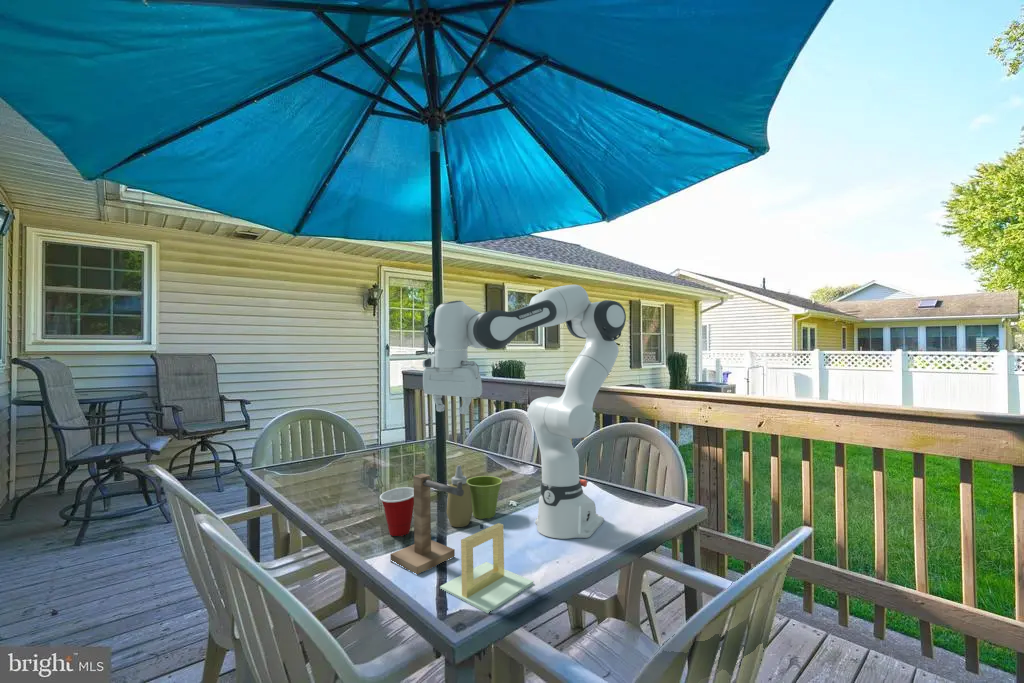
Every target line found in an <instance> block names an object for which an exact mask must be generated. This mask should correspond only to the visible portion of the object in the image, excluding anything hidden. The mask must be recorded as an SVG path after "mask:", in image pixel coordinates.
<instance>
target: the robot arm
mask: <svg viewBox="0 0 1024 683" xmlns="http://www.w3.org/2000/svg"><path fill="white" fill-rule="evenodd" d="M626 315H627V313H626V310H625V308H624V306H623V305H622V304H621V303H620V302H618V301H616V300H607V299H605V300H602V301H596V302H594V301H593V302H592V301H590V299H589V294H588V292H587V291H586V289H585V288H583V287H582V286H581V285H579V284H566V285H560V286H555V287H552V288H548V289H546V290H543V291H541V292H538V293H537V294H535V295H534V296H532V297H531V298H530V301H529V304H528V305H527V306H523V307H521V308H517V309H515V310H511V311H505V310H501V309H492V310H489V311H486V312H480V311H478V310H476V309H473V308H472V307H470V306H469V305H467V303H465V302H464V301H462V300H453V301H448V302H442V303H440V304H439V305H438V306H437V307H436V309H435V313H434V321H433V322H434V325H433V327H434V328H433V331H434V332H433V335H434V338H435V346H434V354H432V355H431V356H429V357H427V358H425V359H423V360H422V368H424V369H423V372H422V389H423V392H424V393H425V395H432V398H433V399H432V400H433V401H434V404H435V405H436V406H435V409H436V410H435V411H437V412H439V413H441V412H444V411H445V407H446V406H445V404H443V400H442V398H443V396H445V397H446V396H448V397H460V398H461V401H462V405H461V406H459V414H460V415H467V414H469V408H470V404H471V403H472V398H478V397H479V398H480V397H481V396H482V395H483V384H482V376H481V371H480V366H479V365H478V364H477V362H476V361H475V360H471V361H469V359H468V348H469V347H471V348H474V349H492V350H500V349H503V348H504V347H506V346H508V345H509V344H510V343H511V342H512V341H513V340H514V339H515V338H516V337H517V336H518V335H520V334H522V333H525V332H527V331H530V330H533V329H536V328H537V327H540V328H549V327H554V326H557V325H561V324H563V323H566V327H567V330H568V332H569V333H570V334H571V335H572V336H573V337H575V338H578V339H585V344H584V346H583V349H582V350H581V351H580V353H579V354H578V355H577V357H576V358H575V360H574V362H572V364H571V366H570V367H569V368H568V370H567V371H566V373H565V374H564V383H565V386H564V387H565V388H564V390H563V393H562V394H561V396H559V397H555V396H551V395H550V396H549V395H547V396H542V397H537V398H534V400H532V401H531V402H530V404H529V406H528V408H527V411H526V412H527V419H528V421H529V423H530V424H531V426H532V428H533V430H534V432H535V436H536V439H537V443H538V447H539V451H540V452H539V453H540V459H541V460H540V462H541V480H540V485H539V487H540V495H539V499H538V511H537V517H536V518H535V521H534V522H535V524H536V525H537V526H536V528H537V531H538V532H539V533H540V534H541V535H543V536H545V537H548V538H554V539H562V540H564V539H565V540H566V539H567V540H569V539H575V538H579V539H580V538H582V539H583V538H585V539H587V538H590V537H591V536H592V535H593V534H594V533H595V532H596V530H597V529H599V527H601V525H602V524H603V523H604V521H605V517H603V516H602V515H600V514H598V513H597V509H596V503H595V501H594V500H593V499H592V498H591V497H589V496H588V495H587V494H586V493H584V490H583V487H584V488H587V485H588V481H587V480H586V479H582V478H581V479H580V463H579V462H580V458H579V454H578V451H577V450H576V449H575V448H574V446H573V444H572V441H571V439H583V438H585V437H588V435H590V434H591V432H593V429H594V428H595V422H596V417H595V413H594V410H593V405H594V402H595V398H596V396H597V394H598V393H599V390H600V389H601V387H602V385H603V384H604V382H605V381H606V379H607V377H608V376H609V375H610V373H611V371H612V369H613V367H614V365H615V364H616V363H615V362H616V360H617V359H618V356H619V345H618V343H616V340H618V339H619V338H620V337H621V335H622V331H623V330H624V328H625V324H626V321H627V320H626V319H627V316H626Z"/></svg>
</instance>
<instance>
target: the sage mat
mask: <svg viewBox="0 0 1024 683" xmlns="http://www.w3.org/2000/svg"><path fill="white" fill-rule="evenodd" d="M492 569H493V563H491V562H488V561H485V562H483V563H480V565H477V566H476V567H473V580H474V579H476V578H478V577H479V576H481V575H483V574H485V573H486V572H488V571H490V570H492ZM532 585H534V580H532V579H530V578H527V577H524V576H523V575H520V574H517V573H514V572H512V571H511V570H508V569H505V568H504V577H502V578H500V579H499V580H497V581H495V582H493V583H492V584H490V585H488V586H487V587H485V588H483V589H482V590H480V591H478V592H477V593H475V594H473V595H472V596H470V597H468V598H466V597H464V596H462V574H460V575H459V576H456V577H455V578H453V579H451V580H449V581H448V582H445V583H444V584H442V585H440V586H439V589H440V590H441V589H442V590H441V591H443V590H444V591H443V592H445V591H446V592H445V593H447V592H448V593H447V594H449V593H450V594H449V595H451V594H452V595H451V596H453V595H454V596H453V597H455V596H456V597H455V598H457V597H458V598H457V599H459V598H460V599H459V600H461V599H462V600H464V601H466V602H467V603H466V602H465V603H466V604H468V603H470V604H471V605H470V604H469V605H470V606H472V605H473V606H472V607H475V608H476V609H478V610H480V611H482V612H484V613H486V614H490V613H491V612H493V611H495V610H496V609H498V608H499V607H500V606H502V605H504V604H505V603H506V602H508V601H510V600H511V599H513V598H514V597H515V596H517V595H519V594H521V593H522V592H523V591H525V590H526V589H527V588H529V587H530V586H532ZM524 589H525V590H524ZM521 591H522V592H521ZM518 593H519V594H518ZM462 600H461V601H462ZM464 601H463V602H464ZM492 610H493V611H492ZM490 611H491V612H490ZM489 612H490V613H489Z"/></svg>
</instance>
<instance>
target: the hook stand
mask: <svg viewBox="0 0 1024 683" xmlns="http://www.w3.org/2000/svg"><path fill="white" fill-rule="evenodd" d="M413 488H414V506H413V529H414V531H413V533H414V534H413V537H414V538H413V539H414V542H413V544H411V545H408V546H406V547H404V548H401V549H399V550H397V551H394V552H392V553H390V561H391V560H392V561H394V562H396V563H397V564H399V565H401V566H403V567H404V568H406V569H408V570H410V571H412V572H414V573H416V574H419V573H421V572H423V571H425V572H427V571H429V570H431V569H433V568H432V567H434V568H435V566H436V565H438V564H440V563H442V562H444V561H446V560H448V559H450V558H452V557H454V556H456V555H455V554H456V553H455V551H456V550H455V549H454V548H452V547H451V546H447V545H445V544H442V543H440V542H437V541H435V540H432V523H431V522H432V518H431V515H432V514H431V512H432V511H431V508H432V507H431V506H432V505H431V489H435V490H439V491H440V492H445V493H447V494H448V493H451V494H454V495H458V496H463V494H464V490H463V489H462V482H457V488H455V487H452V486H450V485H447V484H445V483H440V482H437V481H435V480H434V481H433V480H431V474H426V473H419V474H415V475H413ZM454 558H455V557H454ZM452 559H453V558H452ZM450 560H451V559H450ZM448 561H449V560H448ZM446 562H447V561H446ZM444 563H445V562H444ZM442 564H443V563H442ZM440 565H441V564H440ZM438 566H439V565H438ZM436 567H437V566H436ZM404 568H403V569H404ZM430 568H431V569H430ZM406 569H405V570H406ZM428 569H429V570H428ZM408 570H407V571H408ZM426 570H427V571H426ZM423 573H424V572H423ZM421 574H422V573H421ZM419 575H420V574H419Z"/></svg>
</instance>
